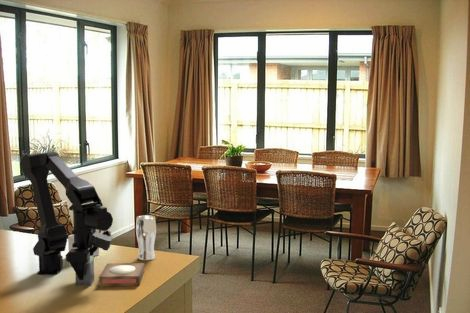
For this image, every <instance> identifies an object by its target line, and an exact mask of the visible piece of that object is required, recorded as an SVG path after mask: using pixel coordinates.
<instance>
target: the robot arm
mask: <svg viewBox="0 0 470 313" xmlns="http://www.w3.org/2000/svg"><path fill="white" fill-rule="evenodd" d="M19 163H20V164H19V165H20V167H21V170H22V173H23V175H24V176H25V178H26V179H28V180H29V182H30V184H31V189H32V192H33V196H34V202H35V205H36V210H37V214H38V218H39V222H40V227H39V229H38V231H37V242H36V243H35V245H34V247H33V248H32V251H33V255H35V256H37V257H38V271H37V275H54V274H55V275H58V274H59V272H60V271H62V269H63V268H64V264H63V263H64V258H63V255H62V253H61V252H64V251H66V246H67V243H68V234H67V232H66V226H65V225H64V224H60V223H59V222H58V221H57V216H56V212H55V208H54V204H53V200H52V196H51V195H52V194H51V191H50V186H49V182H48V176H49V173H51V174H52V175H53V176H54V177H55V178H56V180H57V181H58V182H59V183H60V184H61V185H62V186H63V188H64V189H65V195H66V197H67V198H68V200H69V202H70V204H71V205H69V207H68V210H69V211H72V217H73V218H72V219H73V220H72V221H73V223H72V224H73V230H71V235H73V234H74V243H73V244H72V248H76V247H77V249H71V250H70V251H69V250H68V252H67V253H66V254H65V262H66V263H69V264H70V266H71V267H72V269H73V271H74V272H76V273H75V275H76V274H77V276H78V278H79V280H83V279H84V273H85V265H86V263H87V262H88V261H89V260H90V256H93V254H94V252H95V251H96V250H97V249H98V247H99V249H101V250H103V251H108V250H109V249H110V247H111V244H112V243H113V239H114V237H113V235H112V233H111V231H110V230H109V229H110V228H111V227H112V225H113V223H114V222H113V221H114V218H113V216H112V214H111V212H109V211H108V208H107V207H106V206H104V204H103V202H102V199H101V198H100V197H99V194H98V192H97V191H96V187H94V185H93V184H91V183H90V182H89V181H88V180H85V179H84V178H83V179H82V178H80V177H78V176H77V174H76V173H75V172H74V171H73V170H72V169H71V167H69V166H68V165H67V164H66V163H65V161H64V160H63V159H62V158H61V157H60V154H59V153H58V152H56V151H49V152H41V153H40V152H39V153H30V154H24V155H22V157H21V159H20V162H19ZM98 231H100V232H98Z"/></svg>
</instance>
